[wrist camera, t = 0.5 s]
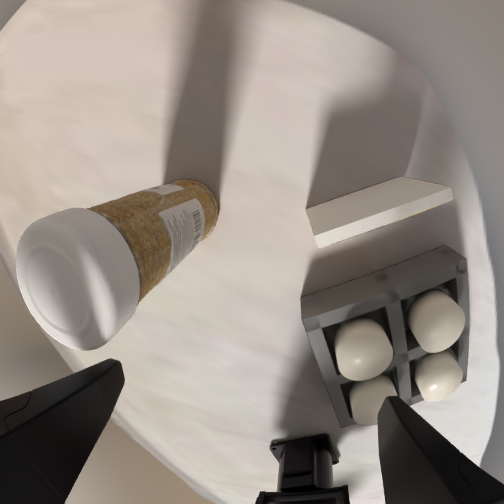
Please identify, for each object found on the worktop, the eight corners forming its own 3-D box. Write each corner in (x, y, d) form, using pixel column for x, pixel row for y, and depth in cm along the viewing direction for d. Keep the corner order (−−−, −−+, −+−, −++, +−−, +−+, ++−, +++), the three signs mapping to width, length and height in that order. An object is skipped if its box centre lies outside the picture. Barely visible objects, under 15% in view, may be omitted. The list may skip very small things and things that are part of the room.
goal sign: (403, 187, 18) (454, 202, 11) (309, 219, 19) (319, 251, 13) (400, 176, 18) (451, 187, 11) (305, 209, 19) (314, 236, 12)
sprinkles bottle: (174, 167, 19) (19, 193, 7) (231, 198, 19) (130, 272, 7) (149, 224, 21) (9, 305, 8) (202, 254, 21) (98, 378, 8)
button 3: (386, 349, 19) (395, 369, 16) (340, 364, 19) (344, 387, 17) (379, 308, 18) (389, 327, 16) (327, 326, 19) (331, 347, 16)
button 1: (394, 395, 20) (400, 416, 18) (353, 409, 21) (356, 430, 18) (389, 366, 19) (398, 387, 17) (345, 381, 20) (349, 403, 18)
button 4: (451, 322, 17) (464, 340, 15) (409, 340, 18) (420, 360, 16) (448, 281, 17) (464, 295, 14) (403, 299, 17) (415, 317, 15)
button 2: (451, 372, 19) (461, 390, 16) (413, 388, 20) (422, 407, 17) (451, 341, 18) (464, 358, 16) (411, 358, 19) (421, 378, 16)
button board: (452, 359, 21) (466, 380, 18) (337, 402, 24) (340, 427, 21) (445, 244, 18) (466, 258, 15) (300, 297, 21) (301, 320, 18)
